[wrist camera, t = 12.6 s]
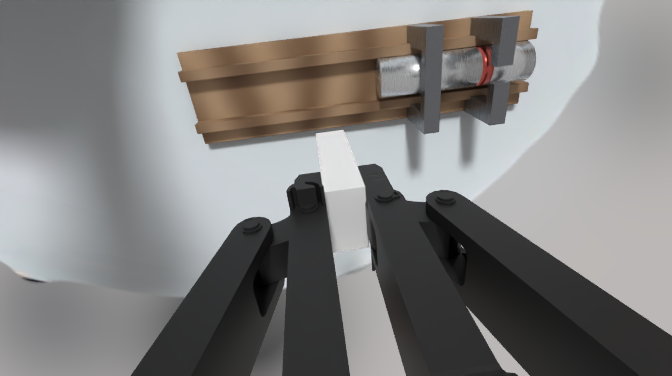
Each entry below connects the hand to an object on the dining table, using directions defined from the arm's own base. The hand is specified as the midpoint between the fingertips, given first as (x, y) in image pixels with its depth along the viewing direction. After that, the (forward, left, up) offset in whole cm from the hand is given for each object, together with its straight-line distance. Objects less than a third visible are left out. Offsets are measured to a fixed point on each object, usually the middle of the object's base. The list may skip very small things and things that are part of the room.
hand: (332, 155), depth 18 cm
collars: (+15, 0, -21) cm, 26 cm away
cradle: (+5, 0, -22) cm, 23 cm away
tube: (+15, 0, -21) cm, 26 cm away
